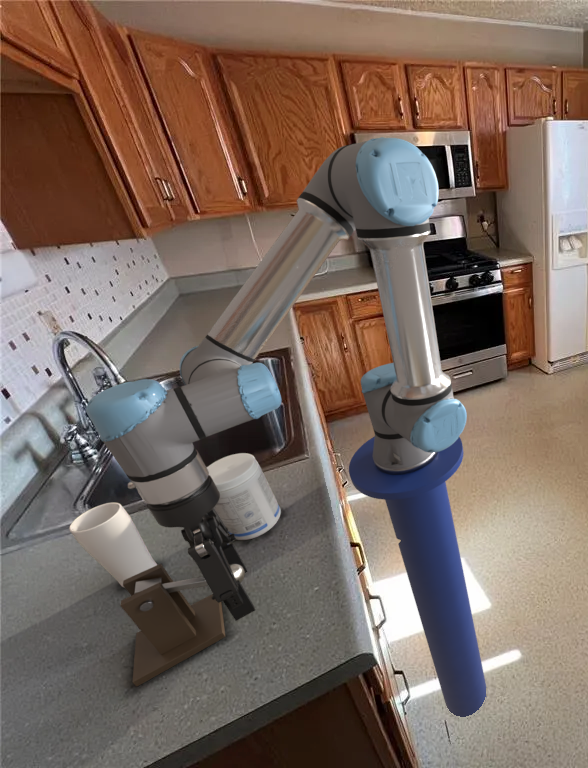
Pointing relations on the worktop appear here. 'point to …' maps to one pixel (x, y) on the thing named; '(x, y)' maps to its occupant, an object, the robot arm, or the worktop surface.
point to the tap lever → (187, 581)
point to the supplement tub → (244, 496)
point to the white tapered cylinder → (112, 541)
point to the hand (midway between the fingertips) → (241, 593)
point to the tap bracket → (168, 625)
